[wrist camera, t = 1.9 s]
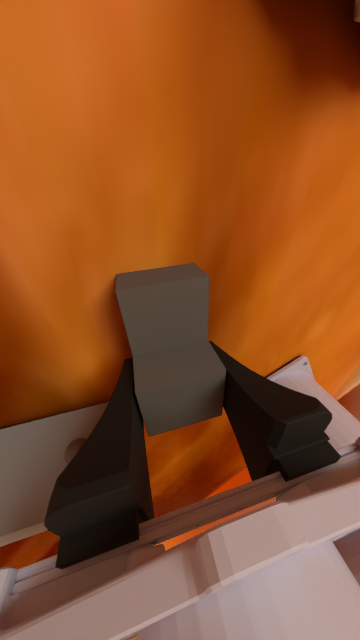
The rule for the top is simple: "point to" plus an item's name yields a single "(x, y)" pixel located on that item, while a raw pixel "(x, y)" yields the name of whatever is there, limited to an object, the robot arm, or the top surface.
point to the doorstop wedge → (171, 346)
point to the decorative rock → (356, 11)
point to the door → (37, 467)
